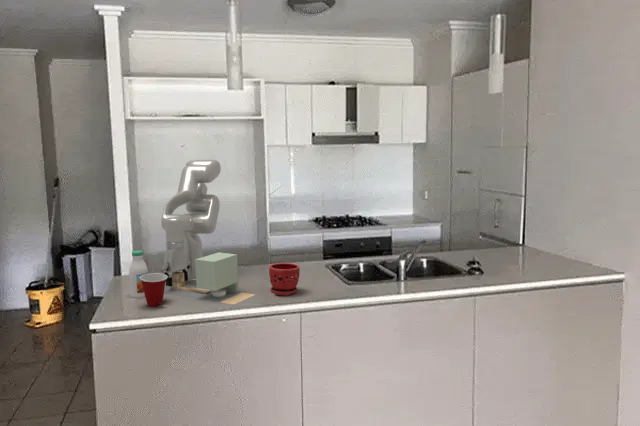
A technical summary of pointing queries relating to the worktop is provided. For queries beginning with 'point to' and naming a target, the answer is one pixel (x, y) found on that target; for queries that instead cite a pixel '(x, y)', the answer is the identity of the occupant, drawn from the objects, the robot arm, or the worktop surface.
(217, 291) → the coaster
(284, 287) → the plant pot
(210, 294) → the board
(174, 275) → the block
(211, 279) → the shelf block
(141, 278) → the plastic cup
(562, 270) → the worktop surface
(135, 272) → the milk bottle
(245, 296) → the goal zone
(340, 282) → the worktop surface
